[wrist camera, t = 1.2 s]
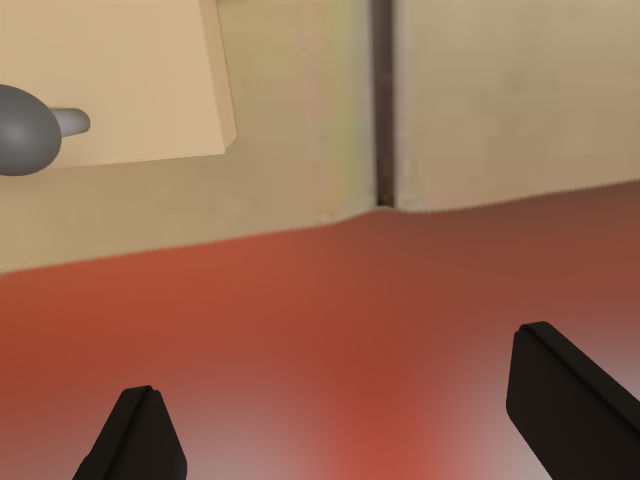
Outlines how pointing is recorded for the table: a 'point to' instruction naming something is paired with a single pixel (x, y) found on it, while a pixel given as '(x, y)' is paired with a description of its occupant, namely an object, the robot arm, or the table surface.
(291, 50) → the table surface
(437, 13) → the table surface
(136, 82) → the carton lid
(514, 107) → the table surface
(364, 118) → the table surface
